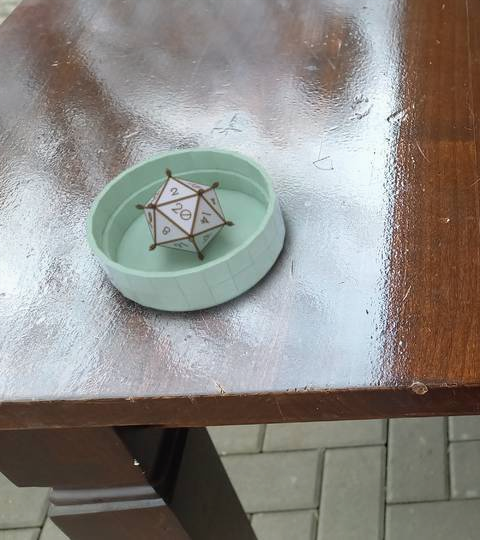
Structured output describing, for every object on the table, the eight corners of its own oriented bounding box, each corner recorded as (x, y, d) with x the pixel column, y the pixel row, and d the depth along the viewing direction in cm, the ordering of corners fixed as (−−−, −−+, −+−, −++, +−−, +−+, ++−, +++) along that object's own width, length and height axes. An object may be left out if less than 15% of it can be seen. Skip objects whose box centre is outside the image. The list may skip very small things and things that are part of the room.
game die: (225, 259, 77) (263, 212, 71) (157, 289, 70) (193, 240, 64) (177, 194, 77) (211, 142, 71) (106, 218, 70) (136, 162, 64)
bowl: (86, 317, 68) (59, 279, 63) (135, 189, 80) (115, 149, 75) (274, 312, 69) (260, 273, 64) (295, 185, 80) (285, 145, 76)
